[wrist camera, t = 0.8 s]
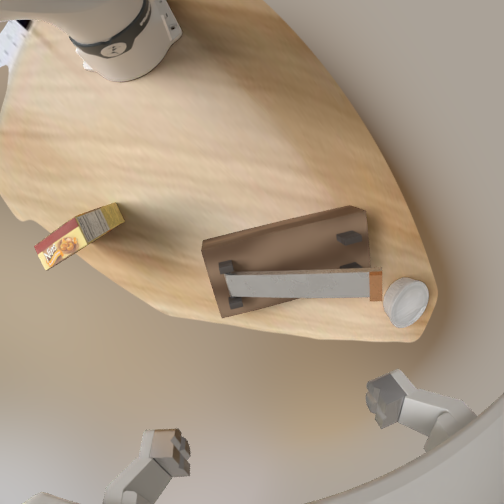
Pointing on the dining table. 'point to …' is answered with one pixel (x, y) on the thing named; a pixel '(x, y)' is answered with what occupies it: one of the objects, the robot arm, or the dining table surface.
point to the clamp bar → (307, 283)
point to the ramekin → (405, 301)
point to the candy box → (77, 234)
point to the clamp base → (286, 252)
